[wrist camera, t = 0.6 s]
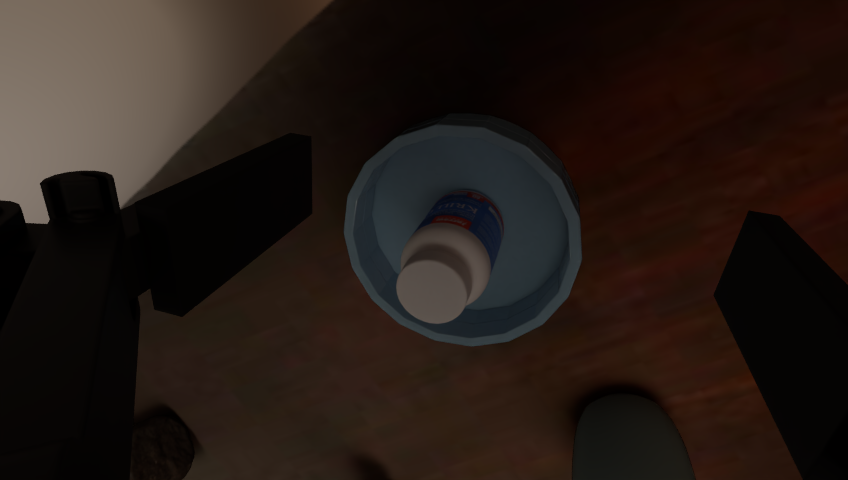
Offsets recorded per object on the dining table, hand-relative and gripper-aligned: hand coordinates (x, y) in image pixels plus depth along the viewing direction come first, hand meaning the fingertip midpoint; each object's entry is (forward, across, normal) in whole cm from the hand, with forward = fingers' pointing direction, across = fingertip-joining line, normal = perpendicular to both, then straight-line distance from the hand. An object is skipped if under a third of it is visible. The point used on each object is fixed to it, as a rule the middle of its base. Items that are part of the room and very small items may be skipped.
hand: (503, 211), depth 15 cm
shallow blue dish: (+18, -3, -9) cm, 20 cm away
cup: (+18, +11, -22) cm, 31 cm away
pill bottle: (+18, -3, -9) cm, 20 cm away
